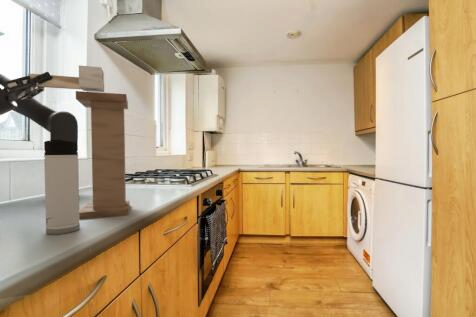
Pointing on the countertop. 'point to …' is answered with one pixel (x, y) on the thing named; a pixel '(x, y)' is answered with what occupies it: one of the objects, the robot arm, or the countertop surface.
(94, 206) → the stand
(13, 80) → the robot arm
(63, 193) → the travel mug
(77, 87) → the mallet
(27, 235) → the countertop surface
